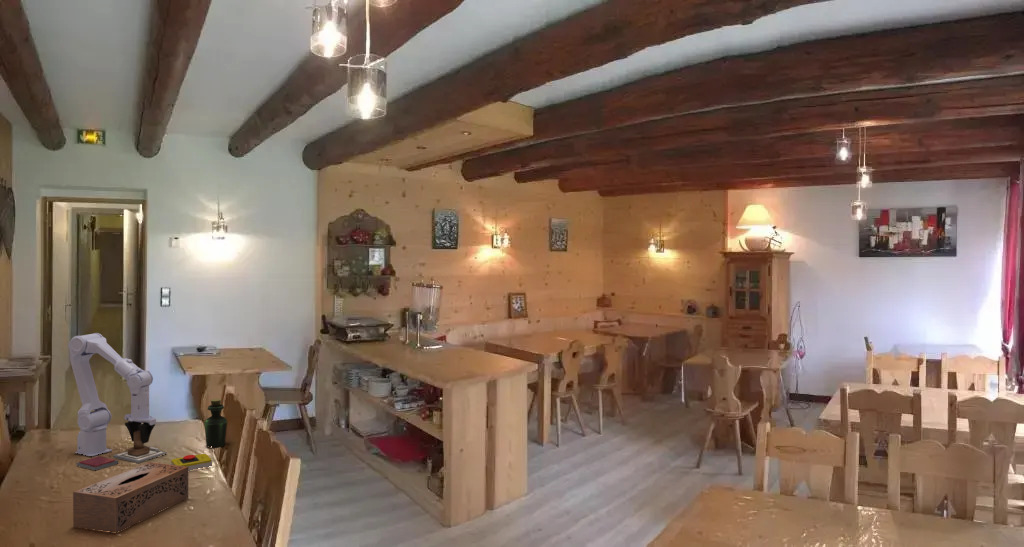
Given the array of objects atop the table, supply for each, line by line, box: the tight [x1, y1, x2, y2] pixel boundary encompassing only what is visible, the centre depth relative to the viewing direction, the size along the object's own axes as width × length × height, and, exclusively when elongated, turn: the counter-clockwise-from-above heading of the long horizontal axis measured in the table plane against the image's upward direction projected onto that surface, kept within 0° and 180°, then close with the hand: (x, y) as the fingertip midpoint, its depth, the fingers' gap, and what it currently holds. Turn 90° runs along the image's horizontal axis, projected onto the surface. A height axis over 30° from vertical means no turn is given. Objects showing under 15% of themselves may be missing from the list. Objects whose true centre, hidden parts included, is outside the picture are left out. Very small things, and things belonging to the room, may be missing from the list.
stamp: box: [127, 431, 151, 457], centre depth 230 cm, size 5×5×8 cm
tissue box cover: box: [72, 461, 189, 532], centre depth 182 cm, size 26×14×10 cm, turn 165°
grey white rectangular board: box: [112, 446, 168, 464], centre depth 230 cm, size 14×11×2 cm
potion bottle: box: [203, 398, 228, 449], centre depth 243 cm, size 8×8×18 cm
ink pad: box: [75, 455, 119, 471], centre depth 220 cm, size 10×8×2 cm
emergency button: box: [170, 453, 212, 471], centre depth 220 cm, size 9×4×15 cm
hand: (140, 441), depth 230 cm, fingers open, 5 cm apart
